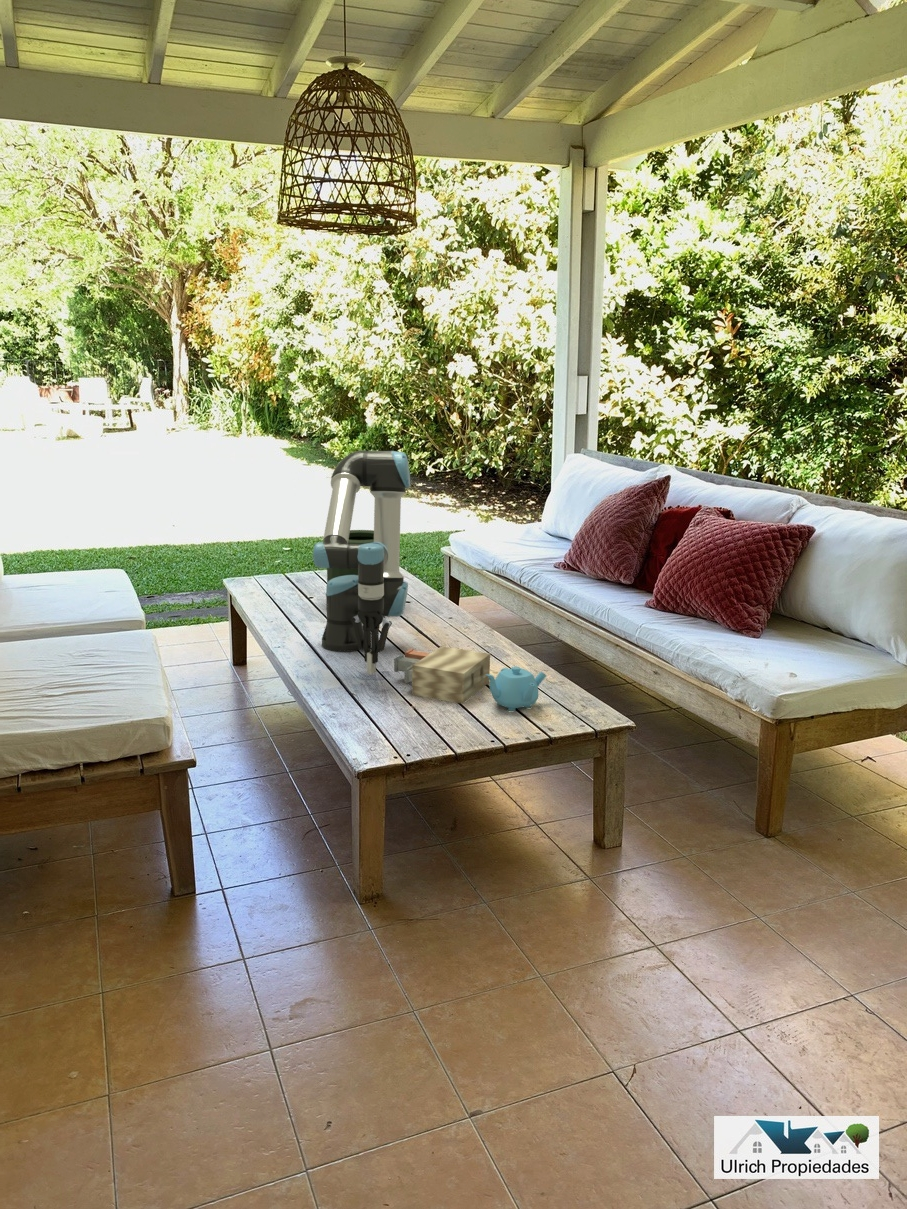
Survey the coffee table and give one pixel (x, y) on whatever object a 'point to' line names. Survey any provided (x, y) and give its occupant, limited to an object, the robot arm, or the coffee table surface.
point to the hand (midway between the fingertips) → (371, 672)
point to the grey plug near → (408, 674)
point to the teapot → (515, 687)
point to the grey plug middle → (403, 663)
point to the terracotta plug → (415, 654)
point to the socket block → (450, 674)
